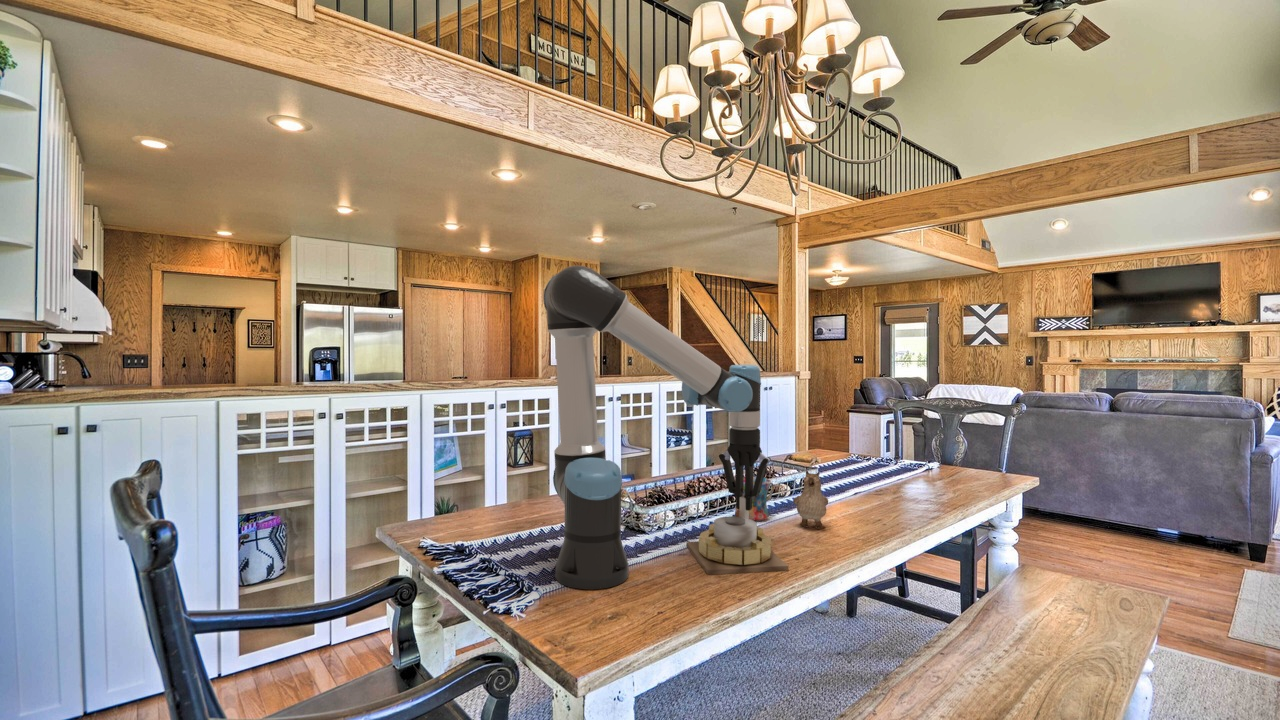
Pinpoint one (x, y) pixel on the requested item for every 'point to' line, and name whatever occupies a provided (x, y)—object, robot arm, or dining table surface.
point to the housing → (735, 535)
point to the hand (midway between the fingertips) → (744, 522)
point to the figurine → (811, 501)
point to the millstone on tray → (735, 548)
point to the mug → (760, 501)
